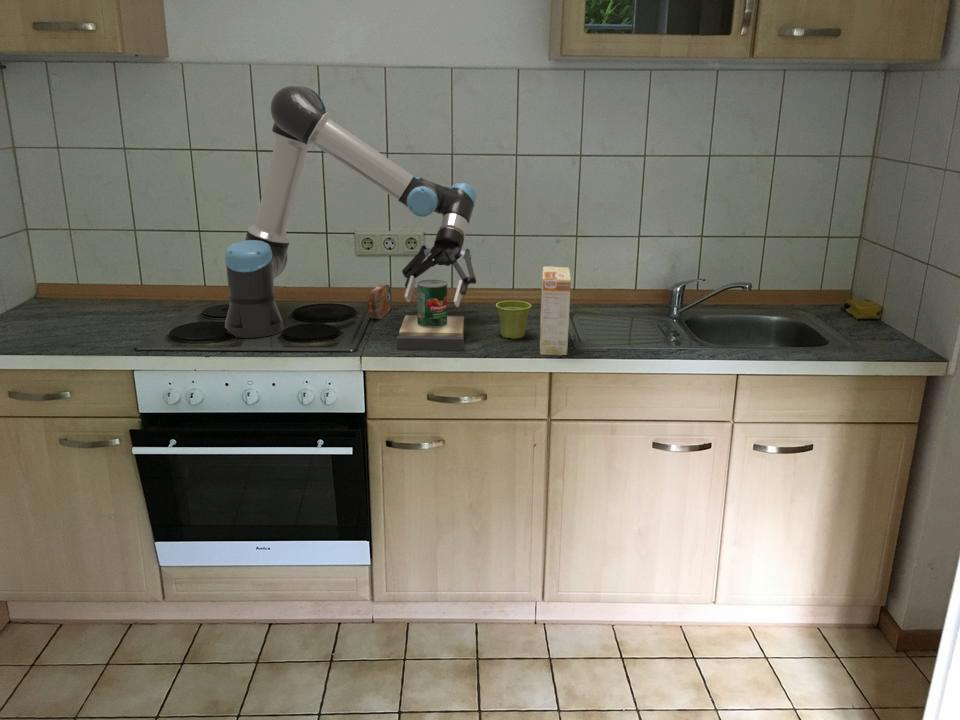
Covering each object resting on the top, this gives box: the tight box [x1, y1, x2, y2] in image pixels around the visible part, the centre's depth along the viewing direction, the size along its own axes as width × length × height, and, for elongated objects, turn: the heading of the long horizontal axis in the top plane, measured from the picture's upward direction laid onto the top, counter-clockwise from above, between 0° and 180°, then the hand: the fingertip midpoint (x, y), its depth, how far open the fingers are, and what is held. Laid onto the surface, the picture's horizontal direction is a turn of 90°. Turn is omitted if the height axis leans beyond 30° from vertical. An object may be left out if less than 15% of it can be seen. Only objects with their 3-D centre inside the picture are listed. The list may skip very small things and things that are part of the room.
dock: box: [396, 314, 465, 351], centre depth 205 cm, size 17×18×4 cm
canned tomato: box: [416, 279, 448, 328], centre depth 203 cm, size 8×8×11 cm
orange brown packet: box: [366, 284, 393, 320], centre depth 226 cm, size 15×3×8 cm, turn 168°
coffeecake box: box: [539, 265, 572, 356], centre depth 198 cm, size 15×7×20 cm, turn 175°
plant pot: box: [495, 300, 532, 340], centre depth 208 cm, size 9×9×9 cm
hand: (431, 301), depth 202 cm, fingers open, 13 cm apart
